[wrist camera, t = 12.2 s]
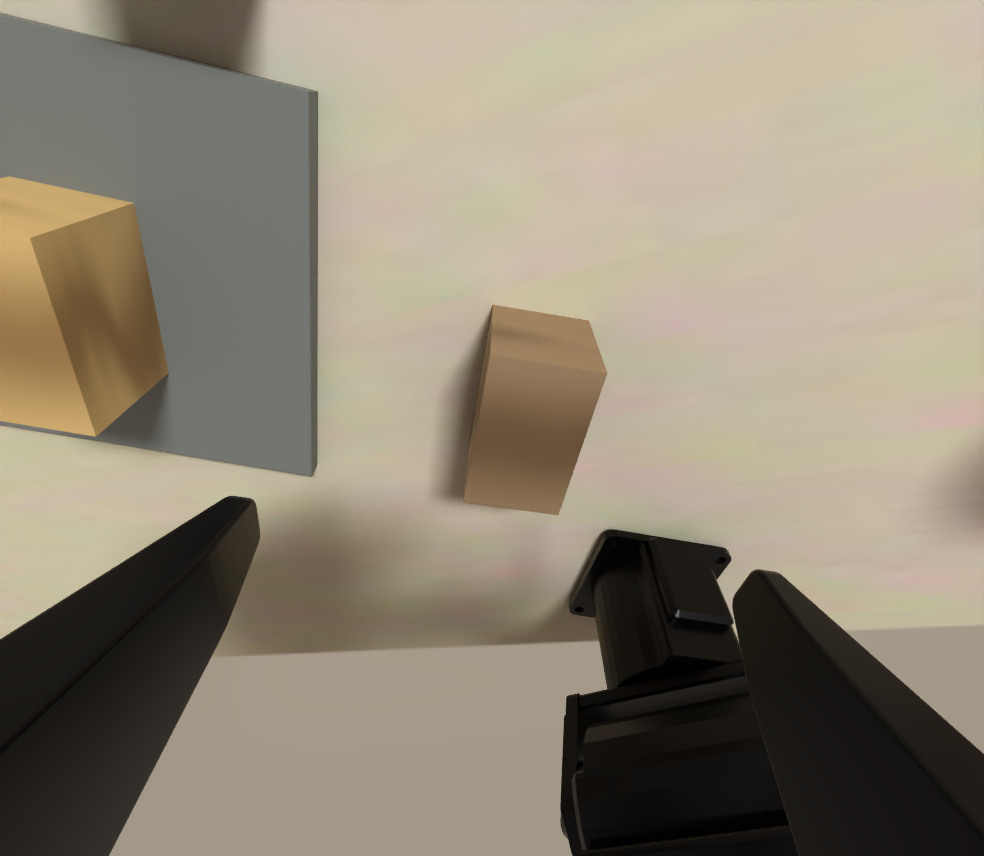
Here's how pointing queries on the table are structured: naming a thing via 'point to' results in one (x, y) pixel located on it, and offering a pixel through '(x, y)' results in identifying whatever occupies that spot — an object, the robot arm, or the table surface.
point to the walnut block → (531, 409)
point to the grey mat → (189, 228)
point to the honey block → (73, 309)
